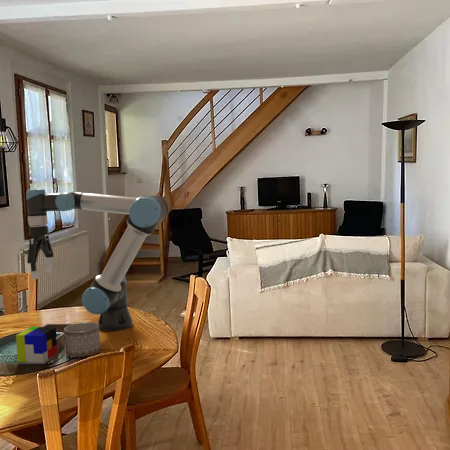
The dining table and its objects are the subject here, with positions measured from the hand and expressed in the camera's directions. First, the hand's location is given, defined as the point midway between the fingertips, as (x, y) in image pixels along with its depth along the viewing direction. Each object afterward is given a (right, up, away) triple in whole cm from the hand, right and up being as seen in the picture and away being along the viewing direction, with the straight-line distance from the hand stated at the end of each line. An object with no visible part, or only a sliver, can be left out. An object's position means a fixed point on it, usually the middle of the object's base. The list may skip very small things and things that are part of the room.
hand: (42, 275), depth 213 cm
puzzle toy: (+8, -28, -26) cm, 39 cm away
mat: (+8, -28, -27) cm, 40 cm away
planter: (+24, -28, -22) cm, 43 cm away
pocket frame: (+6, -27, -8) cm, 29 cm away
